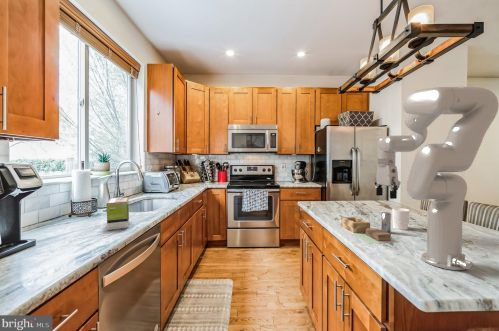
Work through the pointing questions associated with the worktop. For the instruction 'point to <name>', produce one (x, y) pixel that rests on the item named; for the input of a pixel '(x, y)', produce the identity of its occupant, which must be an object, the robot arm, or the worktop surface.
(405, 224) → the white cup
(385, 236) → the walnut bar
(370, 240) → the mat
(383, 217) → the silver cylinder
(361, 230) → the slot block
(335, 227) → the worktop surface
